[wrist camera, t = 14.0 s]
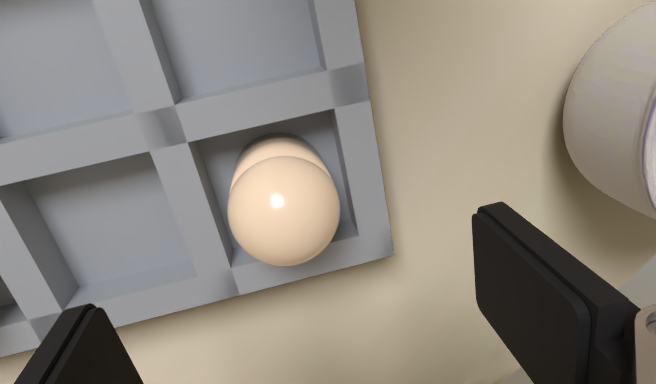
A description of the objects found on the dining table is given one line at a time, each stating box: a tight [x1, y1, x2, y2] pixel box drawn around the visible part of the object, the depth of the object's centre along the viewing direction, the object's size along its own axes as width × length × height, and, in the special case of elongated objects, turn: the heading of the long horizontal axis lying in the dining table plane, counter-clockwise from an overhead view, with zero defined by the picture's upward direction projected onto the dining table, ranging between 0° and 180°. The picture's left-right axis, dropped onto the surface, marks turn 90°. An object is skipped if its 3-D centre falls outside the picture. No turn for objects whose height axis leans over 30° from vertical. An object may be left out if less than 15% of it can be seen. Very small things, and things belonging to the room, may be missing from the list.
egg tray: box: [0, 0, 394, 357], centre depth 18 cm, size 18×26×3 cm
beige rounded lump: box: [227, 133, 340, 266], centre depth 18 cm, size 5×5×6 cm
